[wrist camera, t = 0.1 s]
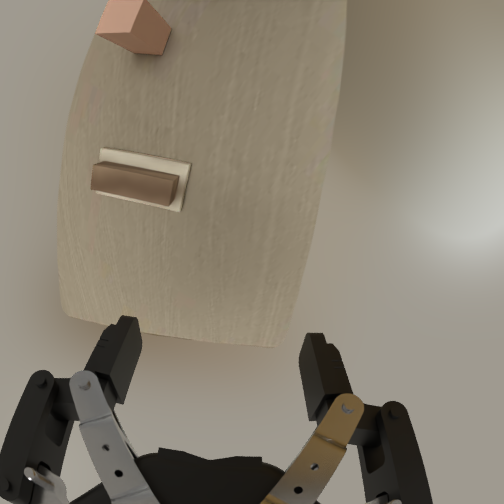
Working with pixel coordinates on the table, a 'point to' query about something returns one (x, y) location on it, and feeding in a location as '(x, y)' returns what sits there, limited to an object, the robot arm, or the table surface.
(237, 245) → the table surface
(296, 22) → the table surface
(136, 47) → the block
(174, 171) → the stand
